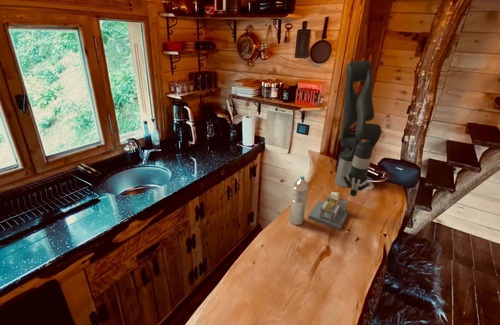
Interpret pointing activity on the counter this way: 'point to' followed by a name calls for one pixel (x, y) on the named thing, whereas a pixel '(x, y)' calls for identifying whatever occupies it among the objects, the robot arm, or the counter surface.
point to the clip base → (332, 218)
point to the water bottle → (299, 201)
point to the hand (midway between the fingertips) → (353, 195)
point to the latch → (334, 195)
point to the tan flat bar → (330, 205)
